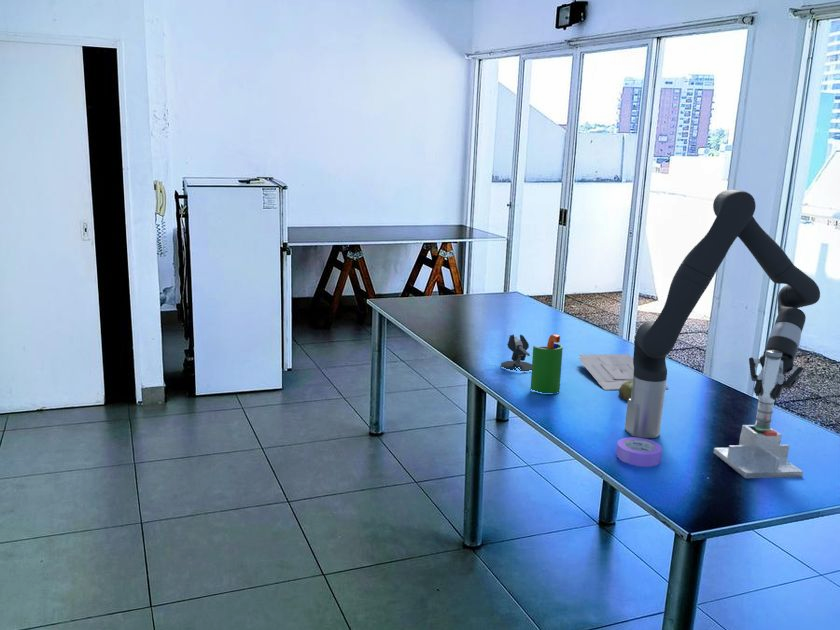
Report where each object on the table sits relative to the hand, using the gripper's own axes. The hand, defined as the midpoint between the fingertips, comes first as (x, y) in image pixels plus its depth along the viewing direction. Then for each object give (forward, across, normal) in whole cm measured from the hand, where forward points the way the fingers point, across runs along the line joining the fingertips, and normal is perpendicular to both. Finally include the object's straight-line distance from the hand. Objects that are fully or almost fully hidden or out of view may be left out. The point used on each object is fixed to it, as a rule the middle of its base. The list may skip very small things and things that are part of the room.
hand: (765, 396), depth 198 cm
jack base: (+13, 0, +16) cm, 20 cm away
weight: (-9, -44, +37) cm, 59 cm away
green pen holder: (+2, -71, +26) cm, 76 cm away
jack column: (+7, 0, +10) cm, 12 cm away
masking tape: (+25, -26, +3) cm, 37 cm away
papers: (-21, -59, +50) cm, 80 cm away
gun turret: (-7, -89, +36) cm, 96 cm away
